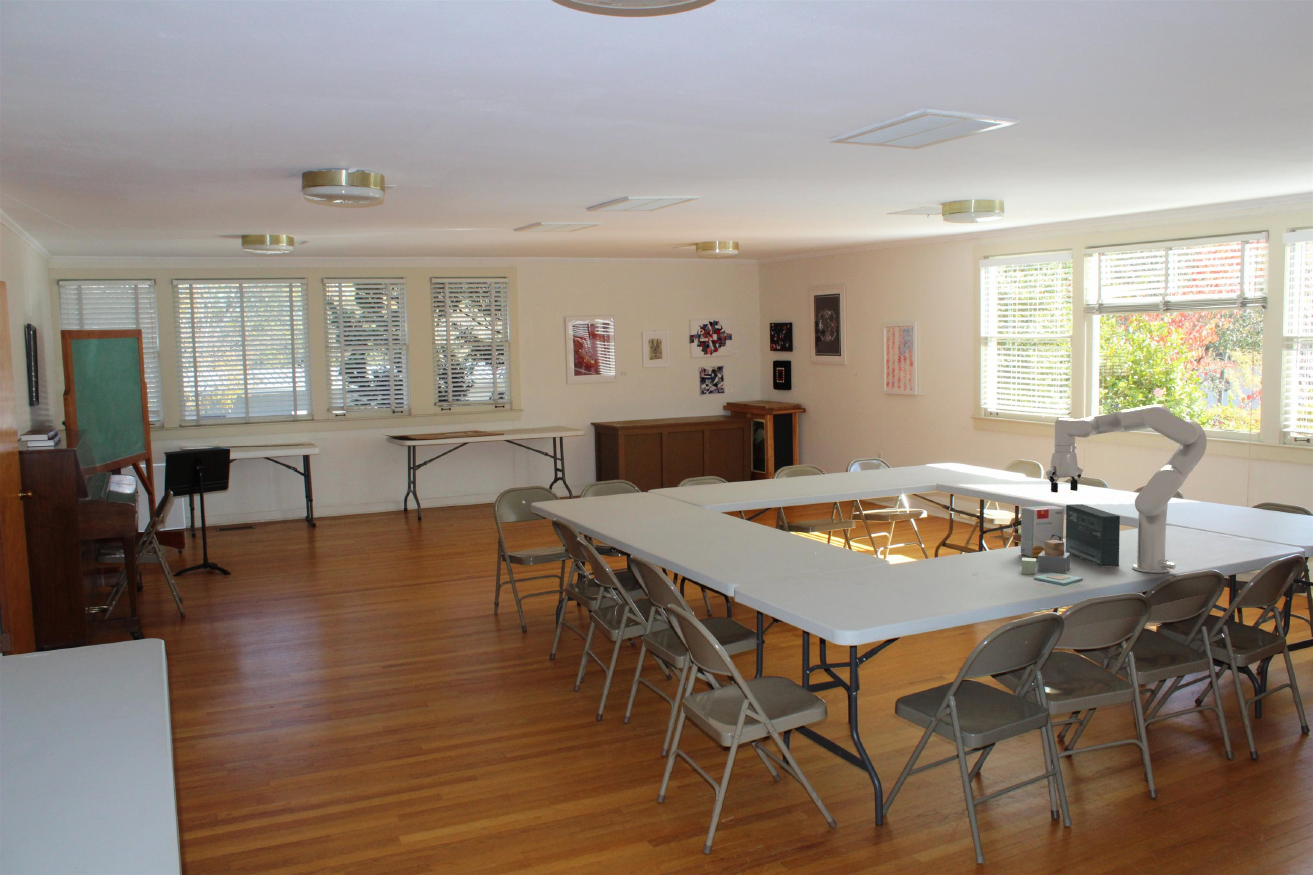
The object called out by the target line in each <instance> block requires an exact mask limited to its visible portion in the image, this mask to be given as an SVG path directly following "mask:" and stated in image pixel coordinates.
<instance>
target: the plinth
mask: <svg viewBox="0 0 1313 875" xmlns="http://www.w3.org/2000/svg"><path fill="white" fill-rule="evenodd" d="M1070 567H1071V553H1069V552H1066V551H1064V555H1059V556H1051V555H1048V554H1045V551H1042V552H1041V553H1040V554H1039V555H1038V557H1037V570H1038V571H1043V572H1054V573H1063V572H1064V573H1067V572H1068V571H1069V569H1070ZM1064 573H1063V574H1064Z"/></svg>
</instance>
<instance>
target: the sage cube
mask: <svg viewBox="0 0 1313 875" xmlns="http://www.w3.org/2000/svg"><path fill="white" fill-rule="evenodd" d="M1030 573H1034V575H1036V574H1037V557H1022V558H1021V574H1030Z"/></svg>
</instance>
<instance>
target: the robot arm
mask: <svg viewBox="0 0 1313 875" xmlns="http://www.w3.org/2000/svg"><path fill="white" fill-rule="evenodd" d="M1147 429H1151V430H1153V431H1155V432H1157V433H1159V434H1160V435H1162V436H1163V437H1166V438H1168V439H1169V440H1171V441H1173V442H1174V443H1177V444H1179V446H1178V447H1177V449H1176V450H1175V451H1174V453H1173V454H1172V456H1171V457H1170V458H1169V460H1167V462H1166V463H1165V465H1163V466H1162V467H1161V468H1160V469H1158V470H1157V471H1156V472H1155V473H1154V474H1153V475H1152V476H1151V478H1150V479H1149V480H1148V482H1147V483H1146V484H1145V486H1144V487H1143V488H1142V490H1140V492H1139V493H1138V494H1137V495H1136V497H1135V499H1134V507H1135V509H1136V511H1137V512H1138V515H1137V518H1138V520H1137V547H1136V548H1137V550H1136V552H1137V554H1136V563H1134V564H1133V565H1132V569H1134V570H1135V571H1139V572H1142V573H1149V574H1164V573H1168V572H1170V569H1171V570H1175V569H1176V566H1177V565H1176V564H1175V563H1173V562H1169V559H1168V558H1166V546H1167V545H1166V543H1167V542H1166V539H1167V538H1166V537H1167V514H1168V505H1169V504H1168V503H1169V502H1170V500H1171V499H1172V498H1173V497H1174V496H1175V494H1176V493H1177V492H1178V491H1179V490H1180V488H1182V486H1183V485H1184V483H1185V481H1186V479H1187V478H1189V475H1191V473H1192V472H1193V470H1194V469H1195V467H1196V466H1197V465H1198V464H1199V462H1200V461H1201V460H1202V458H1203V456H1204V454H1205V453H1206V449H1207V444H1208V443H1207V442H1208V440H1207V435H1206V432H1205V430H1204V428H1203V426H1201V424H1200V423H1198V422H1197V421H1195V420H1192V419H1187V420H1186V419H1183V418H1181V417H1180V416H1177V415H1176V414H1174V413H1172V412H1171V411H1170V409H1169V407H1167V406H1166V405H1164V404H1162V403H1161V404H1151V405H1150V404H1149V405H1145V406H1138V407H1134V408H1133V407H1132V408H1127V409H1122V410H1118V411H1115V412H1110V413H1104V414H1099V415H1094V416H1093V415H1092V416H1088V417H1084V418H1079V419H1077V418H1076V419H1075V418H1071V417H1062V418H1061V417H1060V418H1057V419H1055V421H1054V452H1052V456H1051V460H1050V468H1049V469H1048V470H1047V471H1046V472H1045V474H1046V477H1047V480H1048V481H1049V482H1050V492H1051V493H1059V483H1058V481H1059V479H1061V478H1062V479H1064V478H1070V479H1071V480H1070V487H1069V488H1070V491H1074V492H1078V490H1079V488H1078V487H1079V486H1078V485H1079V484H1078V482H1079V481H1080V478H1081V477H1082V474H1083V472H1084V470H1083V469H1082V468H1081V467H1079V466H1078V465H1079V464H1078V456H1077V452H1076V449H1077V445H1076V438H1085V439H1086V438H1088V437H1092V436H1096V435H1101V434H1108V433H1115V432H1116V433H1117V432H1119V433H1128V432H1133V431H1139V430H1147Z"/></svg>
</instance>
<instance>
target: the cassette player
mask: <svg viewBox="0 0 1313 875" xmlns="http://www.w3.org/2000/svg"><path fill="white" fill-rule="evenodd" d="M1065 507H1066V508H1065V511H1066V512H1065V552H1066V551H1067V552H1066V553H1069V552H1070V554H1071V553H1072V555H1073V554H1075V555H1074V556H1075V557H1078V558H1080V557H1081V558H1080V559H1082V558H1083V559H1082V560H1085V561H1087V560H1088V561H1087V562H1089V561H1090V563H1091V564H1094V563H1095V564H1094V565H1096V566H1099V567H1100V568H1102V566H1109V567H1119V566H1120V536H1121V535H1120V530H1121V529H1120V528H1121V527H1120V526H1121V525H1120V523H1121V516H1120V515H1118V514H1115V513H1111V512H1107V511H1105V510H1102V509H1099V508H1095V507H1092V506H1089V505H1086V504H1082V503H1081V504H1077V503H1076V504H1066V505H1065Z"/></svg>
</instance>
